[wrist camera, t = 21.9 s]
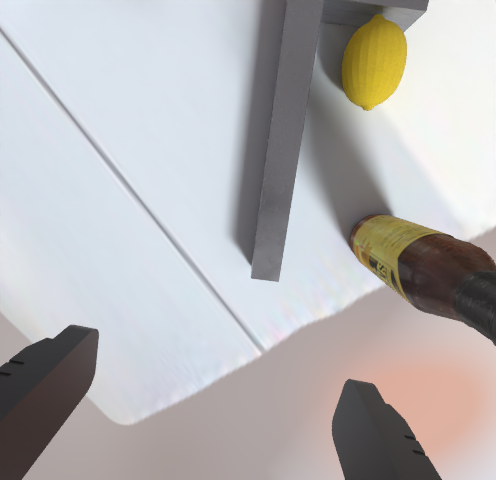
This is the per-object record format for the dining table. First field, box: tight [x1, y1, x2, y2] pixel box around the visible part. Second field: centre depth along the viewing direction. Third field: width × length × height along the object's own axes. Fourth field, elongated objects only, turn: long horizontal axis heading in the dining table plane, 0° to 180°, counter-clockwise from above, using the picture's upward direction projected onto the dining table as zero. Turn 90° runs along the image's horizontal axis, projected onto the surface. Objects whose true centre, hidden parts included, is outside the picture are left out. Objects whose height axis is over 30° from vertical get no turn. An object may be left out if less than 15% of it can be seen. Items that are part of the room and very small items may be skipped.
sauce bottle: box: [350, 215, 496, 346], centre depth 23 cm, size 7×6×20 cm
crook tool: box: [251, 0, 429, 282], centre depth 29 cm, size 12×29×4 cm, turn 173°
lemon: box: [341, 14, 407, 111], centre depth 26 cm, size 6×6×8 cm
